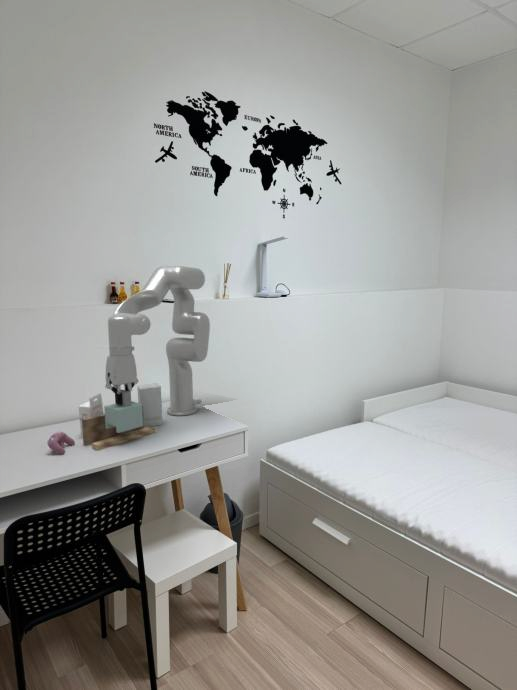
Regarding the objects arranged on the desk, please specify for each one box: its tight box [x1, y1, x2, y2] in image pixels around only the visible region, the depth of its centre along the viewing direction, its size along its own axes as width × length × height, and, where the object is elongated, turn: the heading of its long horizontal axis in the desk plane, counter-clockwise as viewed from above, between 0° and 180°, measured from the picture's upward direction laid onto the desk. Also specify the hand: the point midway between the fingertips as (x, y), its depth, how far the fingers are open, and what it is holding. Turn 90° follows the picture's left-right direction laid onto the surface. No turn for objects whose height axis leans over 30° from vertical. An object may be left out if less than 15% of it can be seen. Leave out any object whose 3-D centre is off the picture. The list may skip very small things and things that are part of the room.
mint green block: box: [104, 388, 143, 433], centre depth 175 cm, size 10×8×13 cm
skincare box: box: [136, 382, 164, 428], centre depth 194 cm, size 8×7×16 cm
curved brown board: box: [82, 406, 156, 451], centre depth 178 cm, size 24×9×9 cm, turn 138°
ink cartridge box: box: [78, 392, 104, 438], centre depth 183 cm, size 9×5×15 cm, turn 168°
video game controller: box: [47, 431, 76, 455], centre depth 168 cm, size 10×5×7 cm, turn 179°
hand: (123, 403), depth 175 cm, fingers closed on mint green block, 2 cm apart
